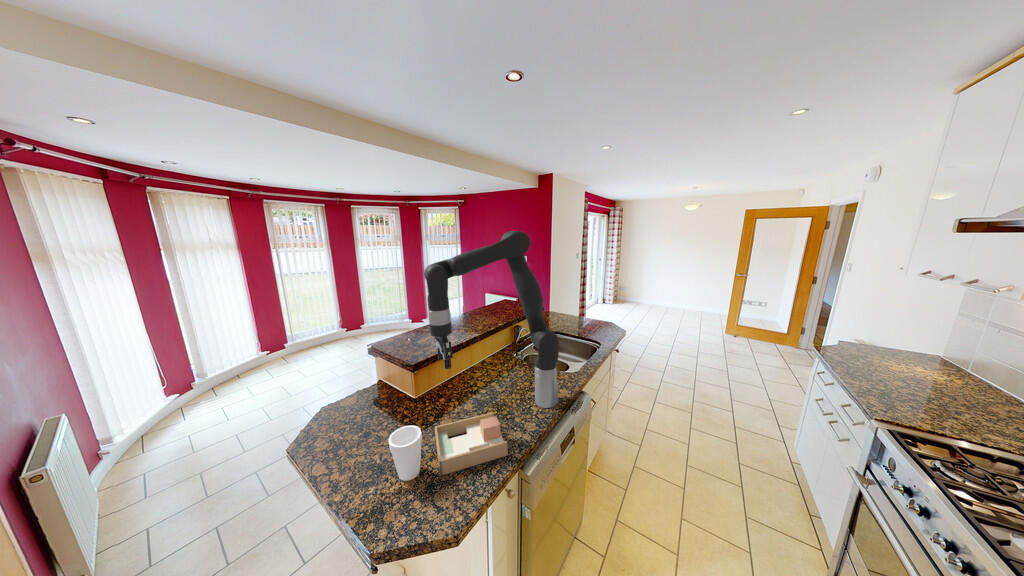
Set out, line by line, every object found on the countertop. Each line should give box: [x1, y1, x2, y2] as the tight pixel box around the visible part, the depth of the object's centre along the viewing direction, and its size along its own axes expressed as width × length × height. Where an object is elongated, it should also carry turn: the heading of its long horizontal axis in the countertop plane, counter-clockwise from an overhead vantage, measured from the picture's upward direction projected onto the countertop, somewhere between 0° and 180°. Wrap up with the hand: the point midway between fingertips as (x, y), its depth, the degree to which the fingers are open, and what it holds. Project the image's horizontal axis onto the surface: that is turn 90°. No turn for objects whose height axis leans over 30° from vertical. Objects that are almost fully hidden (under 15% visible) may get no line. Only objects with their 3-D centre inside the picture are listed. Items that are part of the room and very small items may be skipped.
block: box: [480, 415, 502, 442], centre depth 99 cm, size 6×5×5 cm
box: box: [434, 412, 509, 477], centre depth 97 cm, size 22×17×5 cm
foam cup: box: [388, 425, 423, 482], centre depth 86 cm, size 10×9×13 cm
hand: (444, 363), depth 101 cm, fingers open, 8 cm apart
